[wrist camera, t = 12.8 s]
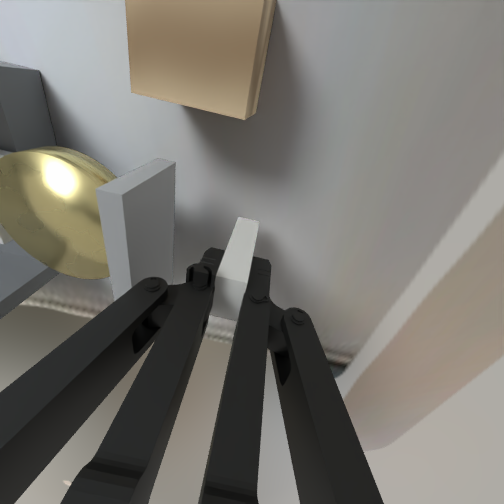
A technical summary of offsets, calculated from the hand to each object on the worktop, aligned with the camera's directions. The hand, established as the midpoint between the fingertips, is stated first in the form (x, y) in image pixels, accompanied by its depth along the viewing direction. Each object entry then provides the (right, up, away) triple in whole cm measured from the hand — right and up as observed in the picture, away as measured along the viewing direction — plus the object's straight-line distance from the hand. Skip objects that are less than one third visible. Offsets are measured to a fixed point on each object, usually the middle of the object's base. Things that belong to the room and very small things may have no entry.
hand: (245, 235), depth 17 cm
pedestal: (-1, +10, -4) cm, 11 cm away
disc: (-10, +1, -2) cm, 11 cm away
